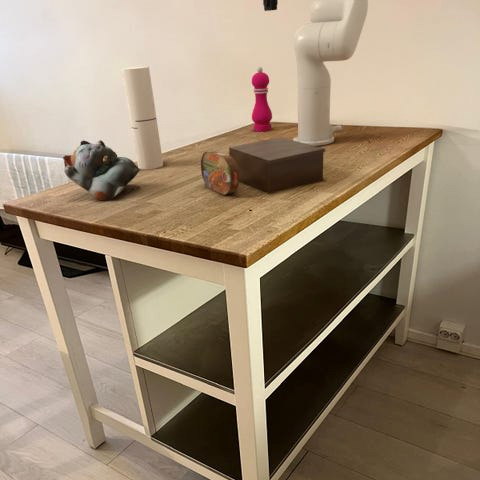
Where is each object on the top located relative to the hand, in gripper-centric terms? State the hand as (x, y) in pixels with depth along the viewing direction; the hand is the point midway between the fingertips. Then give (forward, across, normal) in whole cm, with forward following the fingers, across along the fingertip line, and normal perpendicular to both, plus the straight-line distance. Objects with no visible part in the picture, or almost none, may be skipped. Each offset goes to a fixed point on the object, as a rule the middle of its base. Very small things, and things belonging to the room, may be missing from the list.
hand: (270, 10), depth 114 cm
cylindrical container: (+35, -28, +22) cm, 50 cm away
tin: (+35, -24, -13) cm, 44 cm away
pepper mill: (+35, +22, +42) cm, 59 cm away
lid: (+28, -9, -14) cm, 33 cm away
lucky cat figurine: (+35, -46, +4) cm, 58 cm away
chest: (+35, -9, -14) cm, 39 cm away
